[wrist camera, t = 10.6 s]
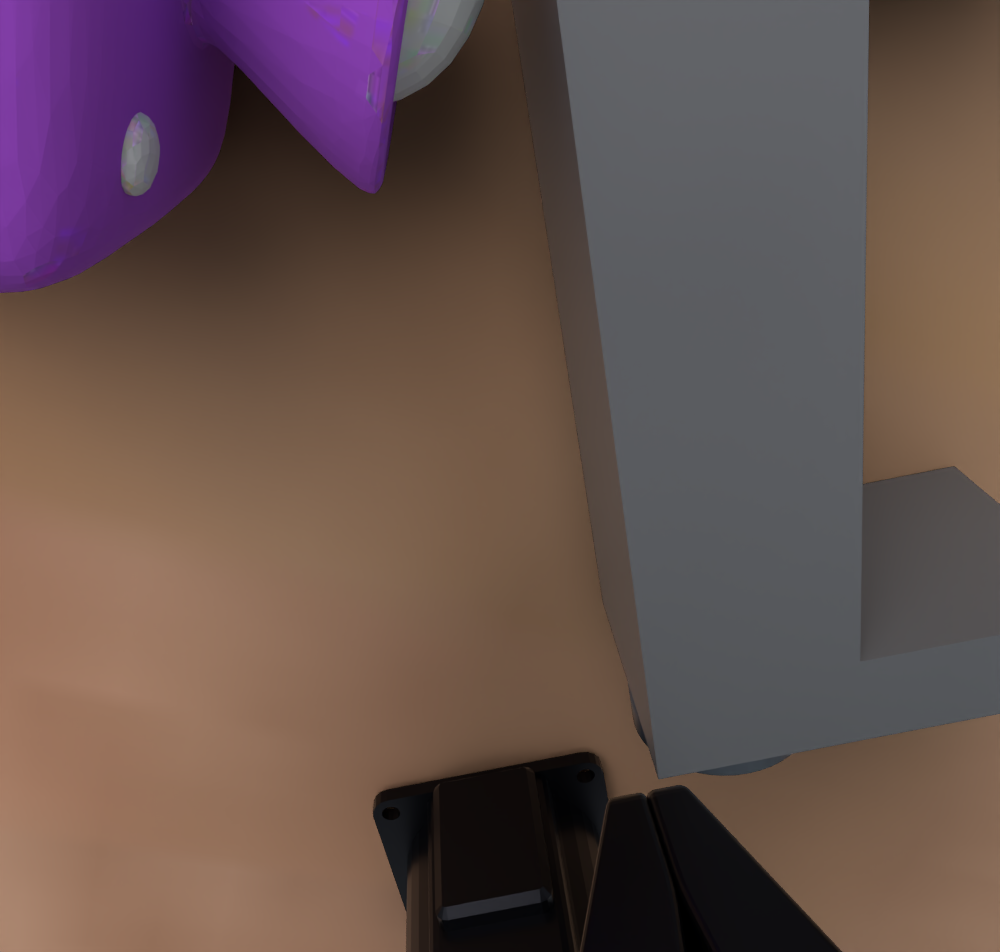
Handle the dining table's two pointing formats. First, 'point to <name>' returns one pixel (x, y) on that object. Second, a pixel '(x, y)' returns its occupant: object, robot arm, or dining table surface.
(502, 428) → the dining table surface
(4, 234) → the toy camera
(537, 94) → the grey hollow rectangular block
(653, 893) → the robot arm
